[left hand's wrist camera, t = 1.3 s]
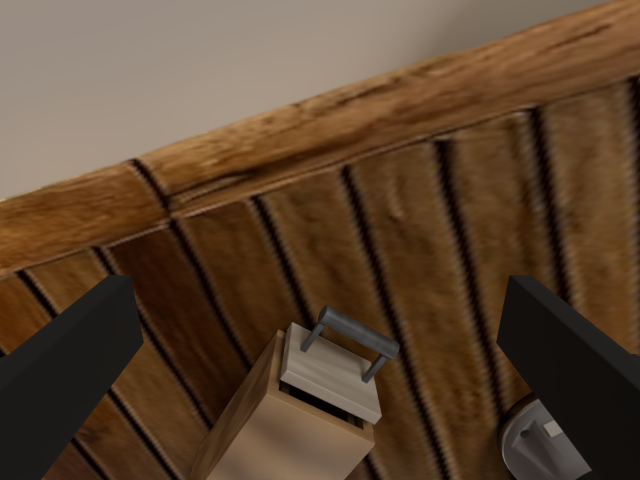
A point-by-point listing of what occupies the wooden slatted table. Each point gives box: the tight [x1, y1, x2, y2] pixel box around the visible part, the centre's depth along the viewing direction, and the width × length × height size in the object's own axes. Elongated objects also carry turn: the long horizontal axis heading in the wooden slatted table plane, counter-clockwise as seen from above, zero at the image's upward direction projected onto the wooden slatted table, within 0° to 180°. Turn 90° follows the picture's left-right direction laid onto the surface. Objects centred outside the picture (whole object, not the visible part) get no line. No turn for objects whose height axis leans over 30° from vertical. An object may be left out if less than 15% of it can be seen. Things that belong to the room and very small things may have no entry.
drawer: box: [279, 305, 399, 426], centre depth 37 cm, size 24×10×7 cm, turn 149°
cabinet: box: [189, 329, 375, 480], centre depth 39 cm, size 20×11×10 cm, turn 149°
